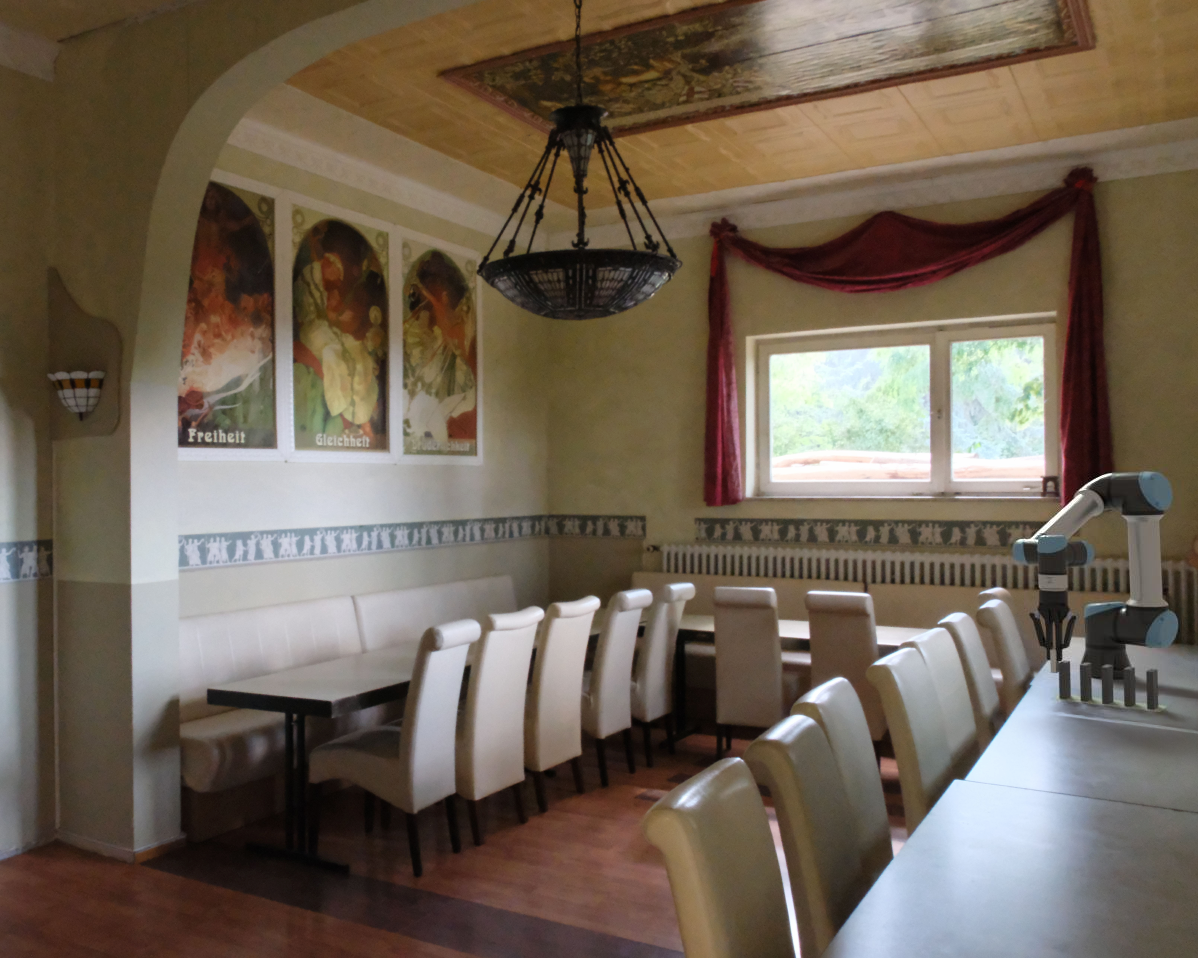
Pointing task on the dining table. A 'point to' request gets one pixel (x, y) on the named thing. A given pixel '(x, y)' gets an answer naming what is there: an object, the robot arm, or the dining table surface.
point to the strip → (1114, 704)
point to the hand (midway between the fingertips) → (1054, 672)
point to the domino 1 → (1064, 680)
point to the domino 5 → (1152, 688)
